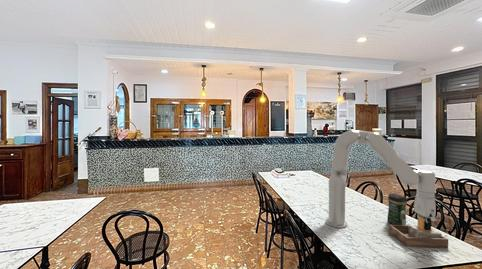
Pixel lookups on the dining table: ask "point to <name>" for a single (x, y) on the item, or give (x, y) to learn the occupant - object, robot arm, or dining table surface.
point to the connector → (421, 223)
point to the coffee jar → (397, 209)
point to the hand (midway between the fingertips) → (424, 227)
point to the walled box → (418, 236)
